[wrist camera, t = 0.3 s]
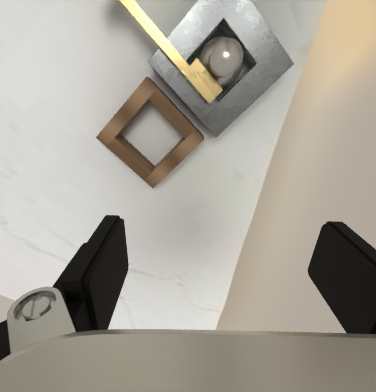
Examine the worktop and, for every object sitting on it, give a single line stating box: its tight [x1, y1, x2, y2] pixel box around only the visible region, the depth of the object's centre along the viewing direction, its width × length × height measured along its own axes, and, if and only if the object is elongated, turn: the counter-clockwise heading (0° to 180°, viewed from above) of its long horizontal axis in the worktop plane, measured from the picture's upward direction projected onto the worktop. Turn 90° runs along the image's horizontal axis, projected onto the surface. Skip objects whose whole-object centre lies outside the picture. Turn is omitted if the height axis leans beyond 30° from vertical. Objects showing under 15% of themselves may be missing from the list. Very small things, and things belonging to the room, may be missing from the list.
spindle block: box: [148, 0, 294, 137], centre depth 32 cm, size 14×14×4 cm
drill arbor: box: [199, 37, 243, 87], centre depth 29 cm, size 6×6×10 cm
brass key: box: [119, 0, 223, 104], centre depth 27 cm, size 3×20×3 cm, turn 44°
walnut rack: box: [96, 77, 204, 188], centre depth 36 cm, size 12×12×4 cm
